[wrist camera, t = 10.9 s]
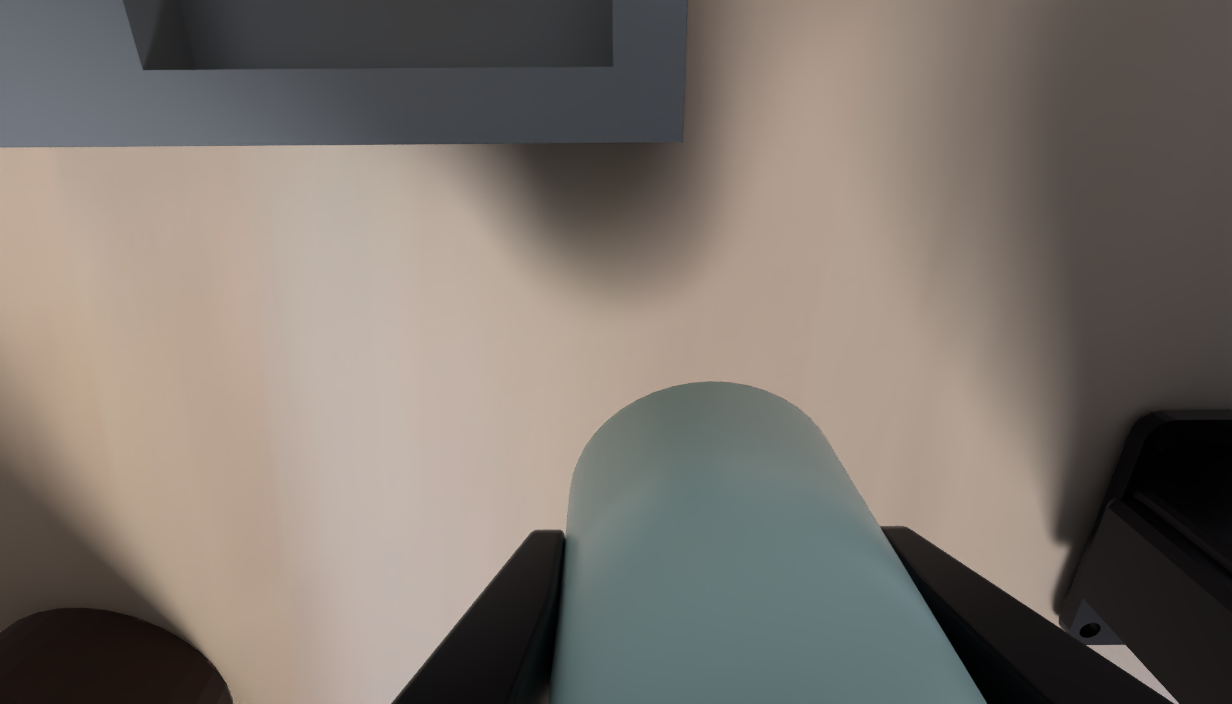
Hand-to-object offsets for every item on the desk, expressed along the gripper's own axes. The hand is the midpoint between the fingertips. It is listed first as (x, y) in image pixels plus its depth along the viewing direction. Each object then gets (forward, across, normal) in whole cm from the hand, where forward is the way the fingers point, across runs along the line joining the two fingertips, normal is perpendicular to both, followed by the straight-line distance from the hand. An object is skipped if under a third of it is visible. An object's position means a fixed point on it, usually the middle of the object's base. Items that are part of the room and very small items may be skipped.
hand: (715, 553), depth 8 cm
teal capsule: (+1, 0, 0) cm, 1 cm away
